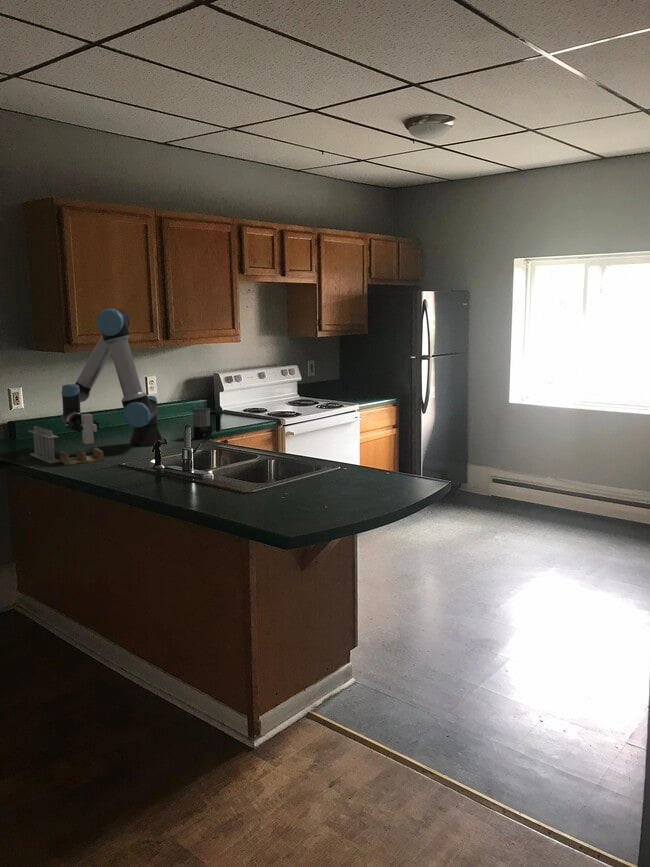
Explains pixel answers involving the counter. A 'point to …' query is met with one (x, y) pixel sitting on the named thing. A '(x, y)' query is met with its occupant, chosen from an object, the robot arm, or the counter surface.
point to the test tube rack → (44, 445)
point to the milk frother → (204, 422)
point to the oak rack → (81, 457)
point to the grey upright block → (88, 422)
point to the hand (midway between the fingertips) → (90, 429)
